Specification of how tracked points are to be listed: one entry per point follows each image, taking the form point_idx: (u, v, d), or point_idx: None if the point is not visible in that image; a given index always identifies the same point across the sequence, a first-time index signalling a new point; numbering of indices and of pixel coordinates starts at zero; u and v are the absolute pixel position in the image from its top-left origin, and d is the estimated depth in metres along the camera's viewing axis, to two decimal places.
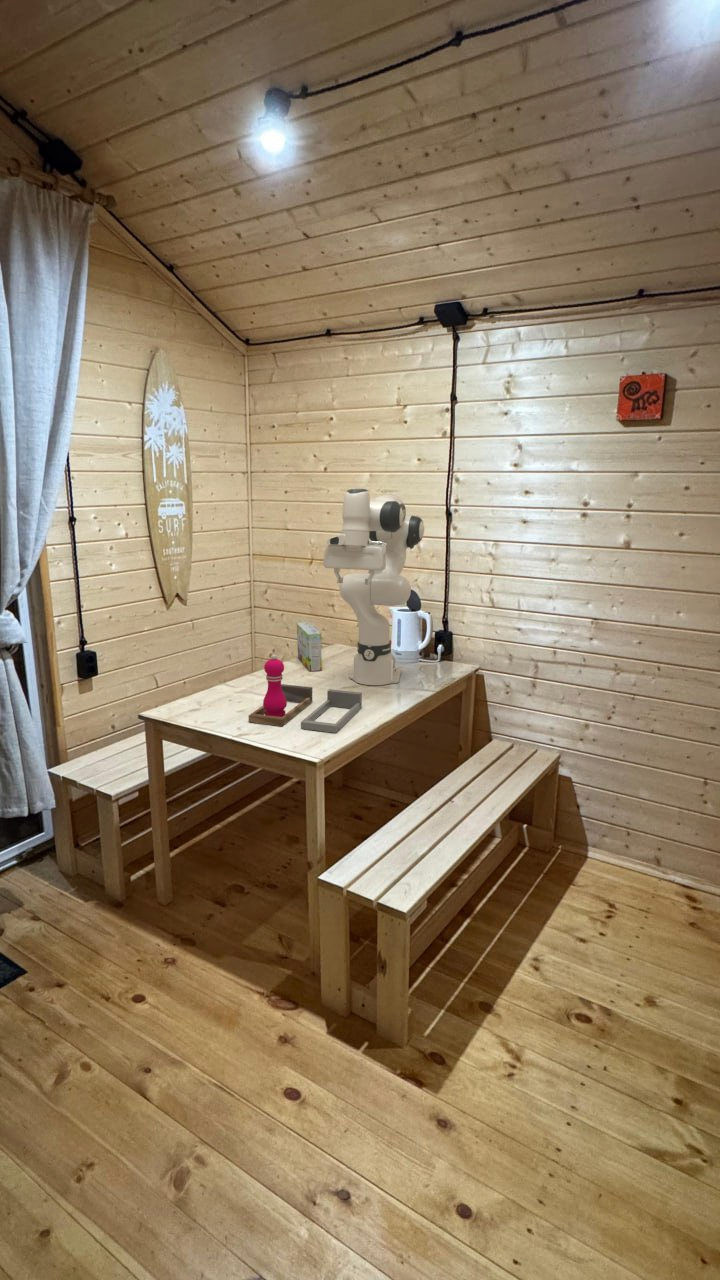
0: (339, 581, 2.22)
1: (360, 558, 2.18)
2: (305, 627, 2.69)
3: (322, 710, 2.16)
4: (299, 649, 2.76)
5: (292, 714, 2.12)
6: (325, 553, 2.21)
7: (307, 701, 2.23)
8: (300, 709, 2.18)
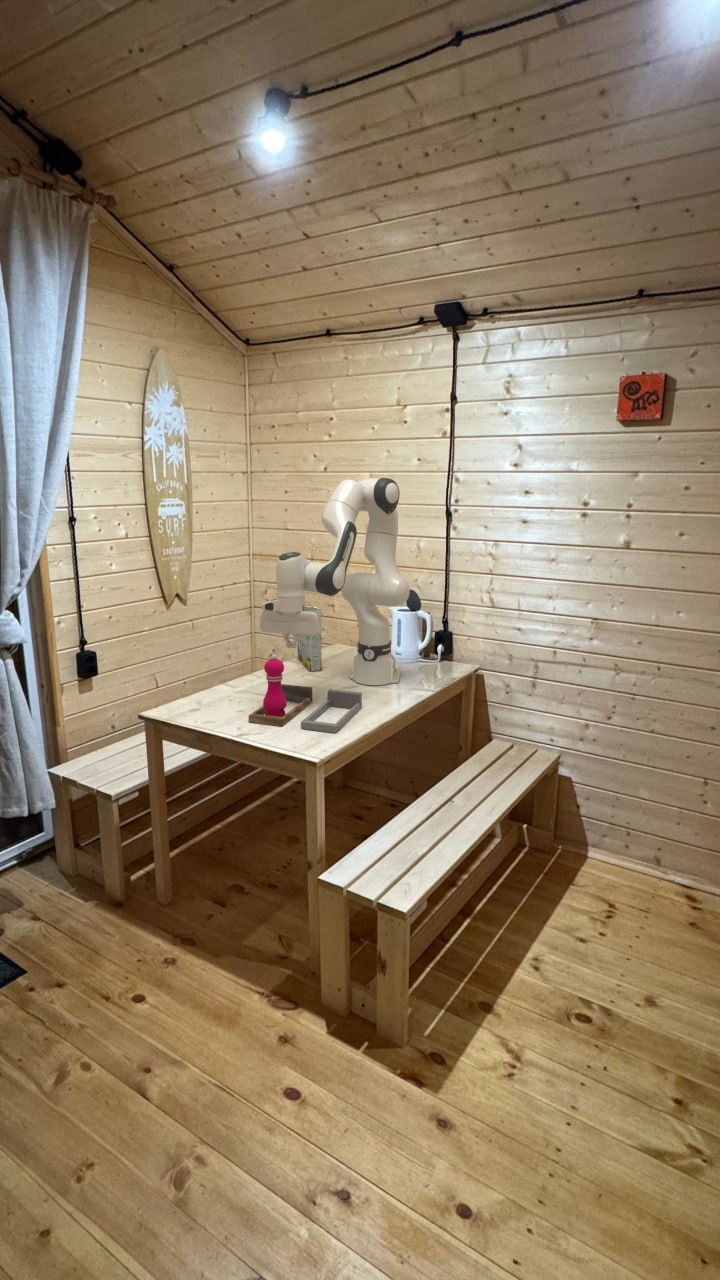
0: (288, 646, 2.20)
1: (296, 623, 2.16)
2: None
3: (322, 710, 2.16)
4: (299, 649, 2.76)
5: (292, 714, 2.12)
6: (261, 617, 2.19)
7: (307, 701, 2.23)
8: (300, 709, 2.18)
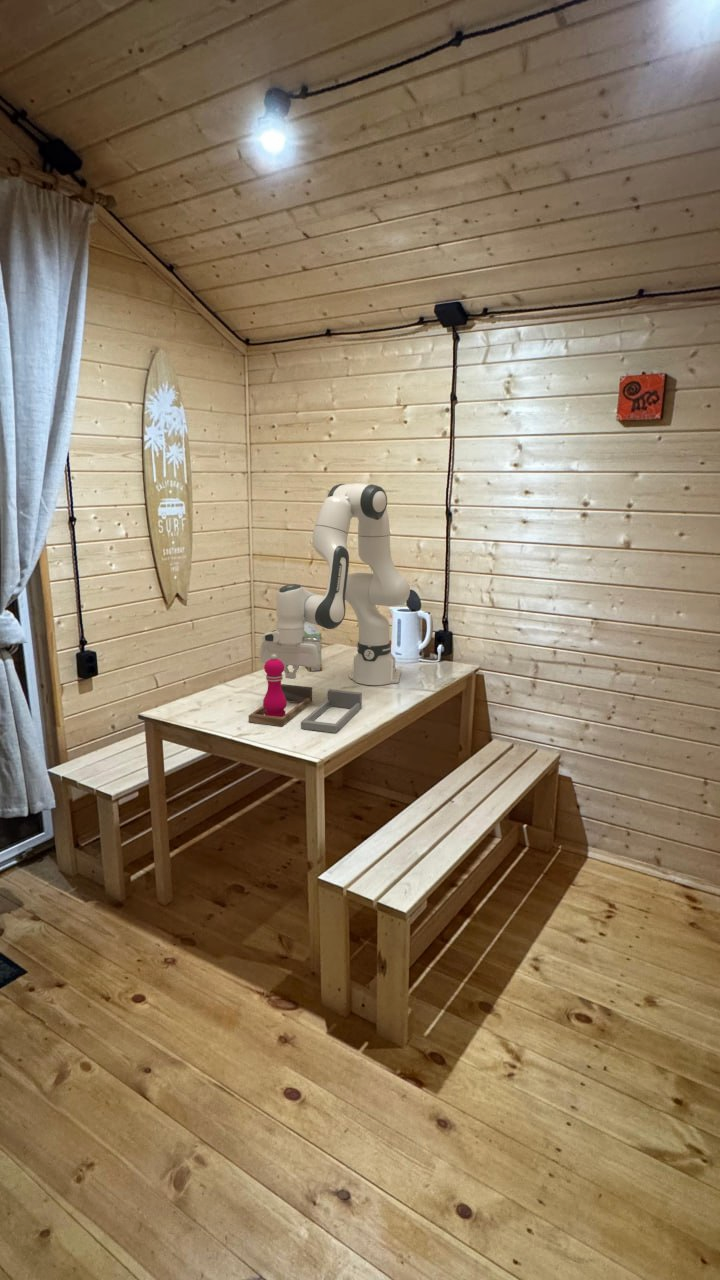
0: (287, 676, 2.22)
1: (296, 655, 2.18)
2: (305, 627, 2.69)
3: (322, 710, 2.16)
4: None
5: (292, 714, 2.12)
6: (261, 648, 2.21)
7: (307, 701, 2.23)
8: (300, 709, 2.18)
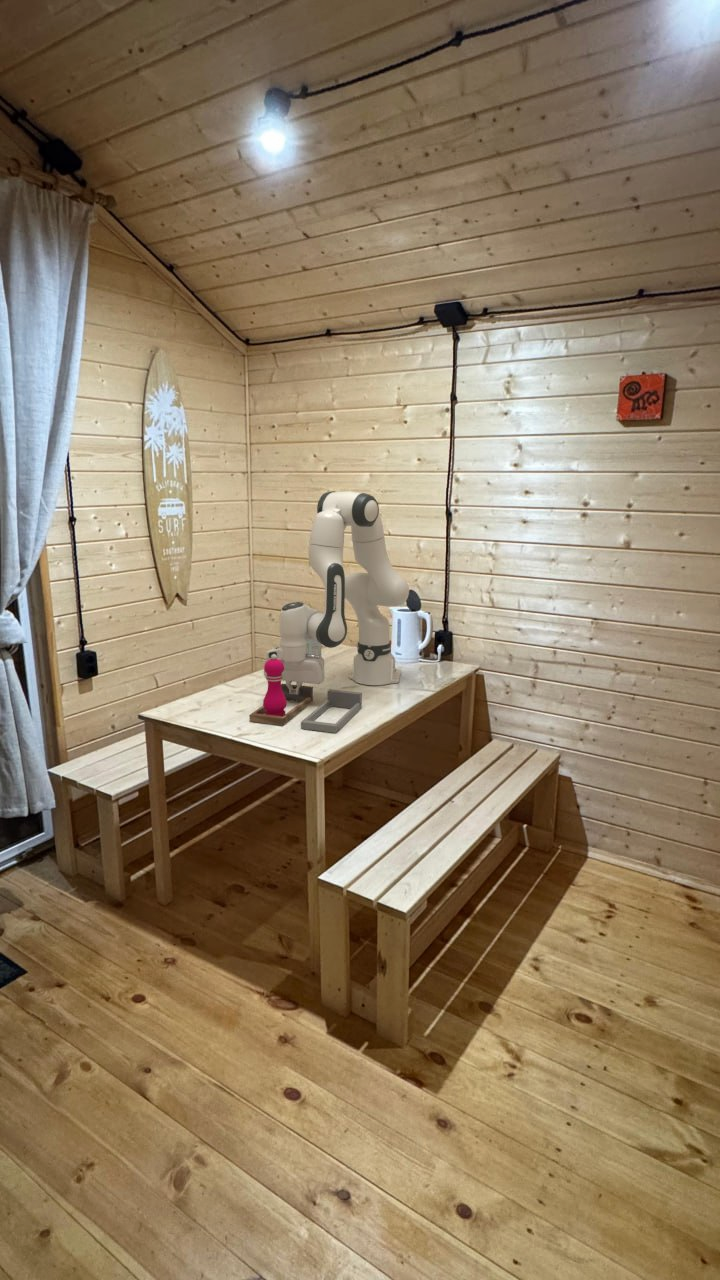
0: (291, 692, 2.25)
1: (299, 671, 2.21)
2: None
3: (322, 710, 2.16)
4: None
5: (293, 713, 2.12)
6: None
7: (308, 700, 2.23)
8: (301, 708, 2.18)
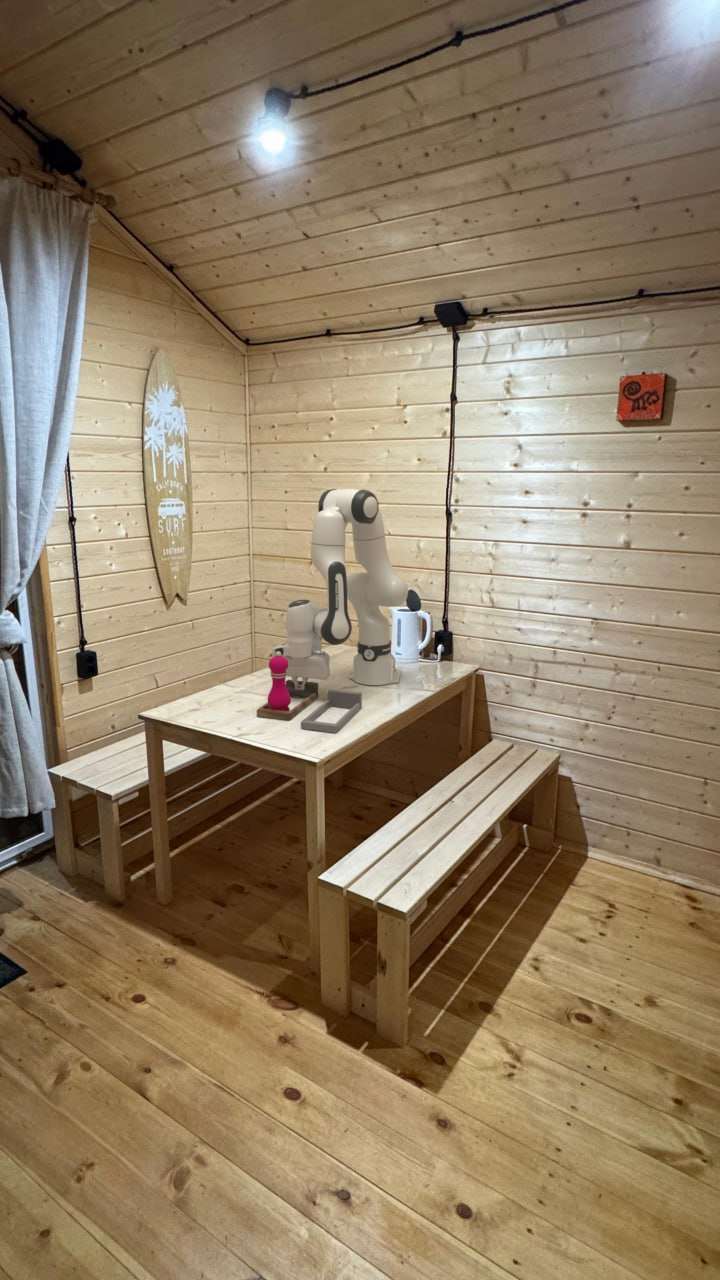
0: (297, 688, 2.30)
1: (305, 667, 2.26)
2: None
3: (322, 710, 2.16)
4: None
5: (299, 708, 2.17)
6: None
7: (313, 696, 2.28)
8: (307, 704, 2.23)
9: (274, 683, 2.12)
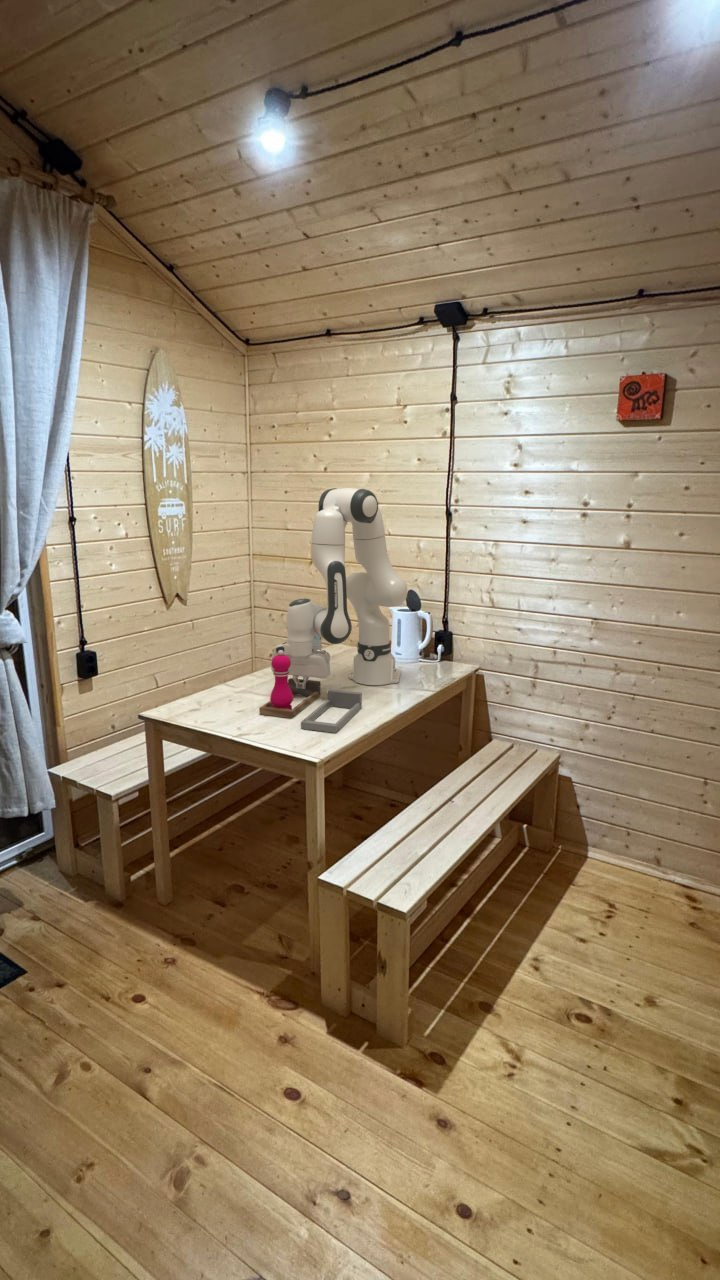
0: (298, 687, 2.31)
1: (306, 666, 2.27)
2: None
3: (322, 710, 2.16)
4: None
5: (301, 706, 2.19)
6: None
7: (315, 694, 2.29)
8: (309, 702, 2.24)
9: (277, 681, 2.14)
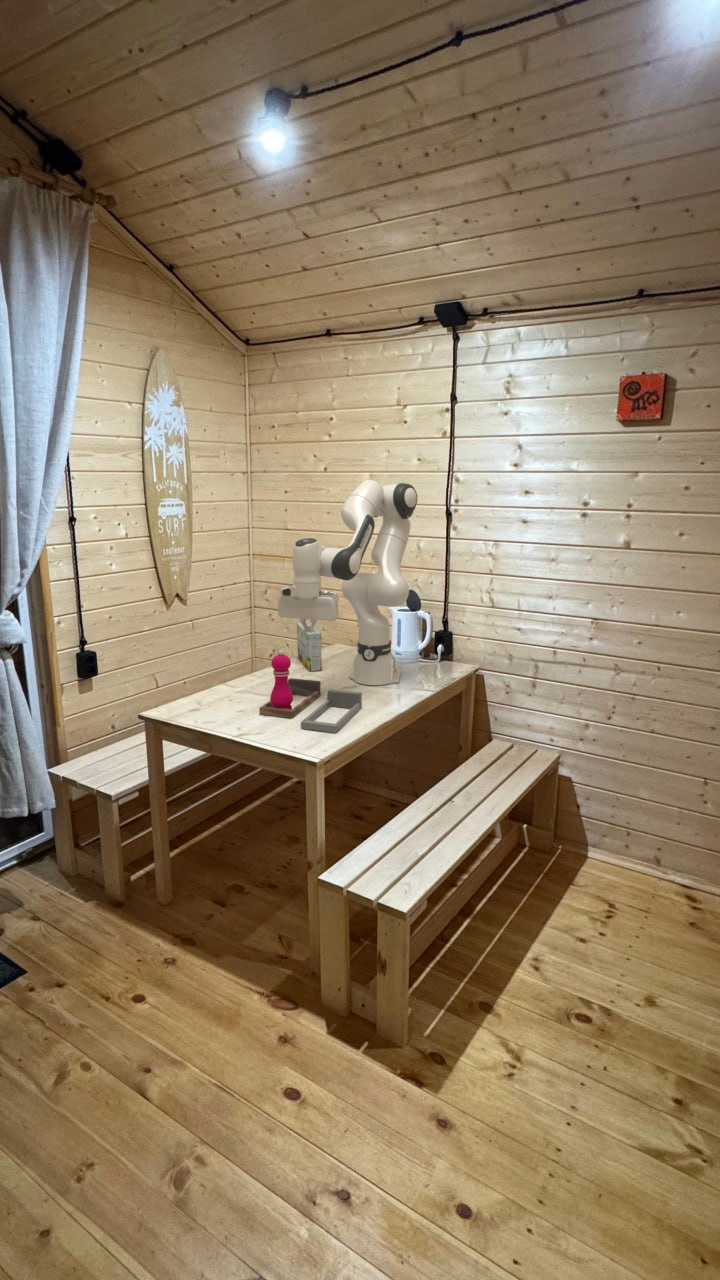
0: (306, 630, 2.24)
1: (313, 608, 2.20)
2: None
3: (322, 710, 2.16)
4: (299, 649, 2.76)
5: (301, 706, 2.19)
6: (279, 603, 2.23)
7: (315, 694, 2.29)
8: (309, 702, 2.24)
9: (277, 681, 2.14)
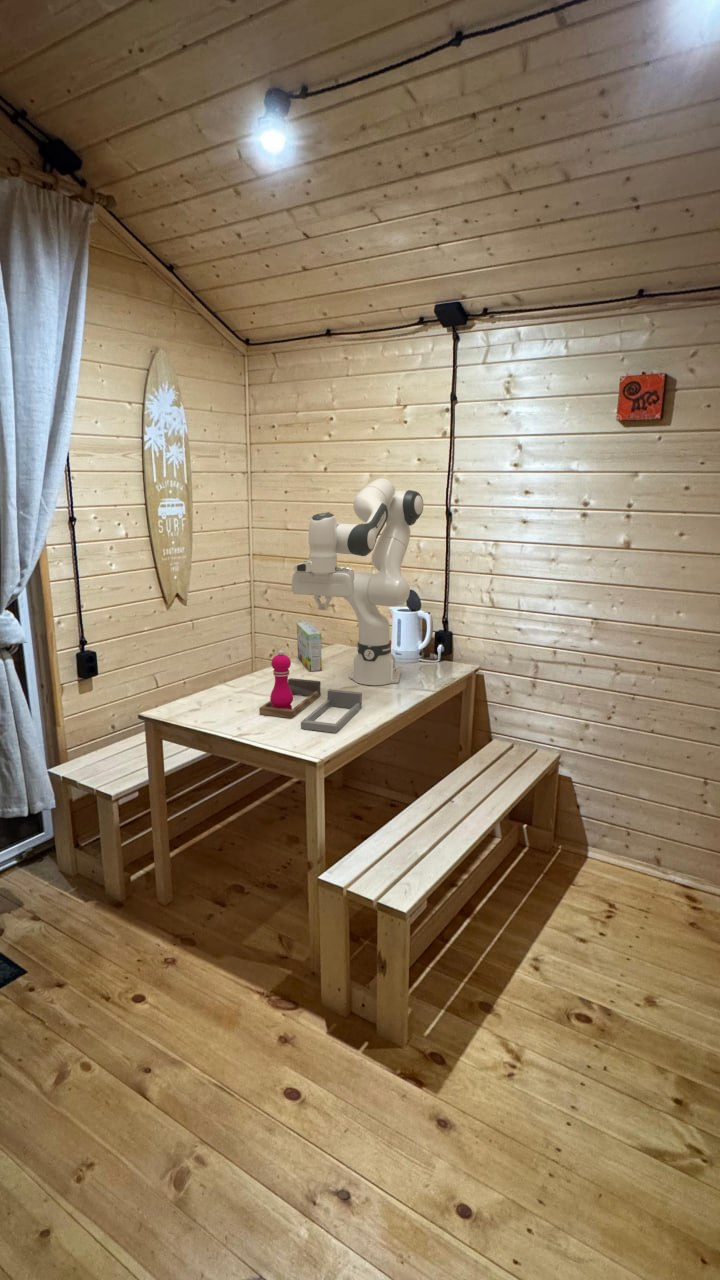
0: (320, 608, 2.19)
1: (328, 585, 2.15)
2: (305, 627, 2.69)
3: (322, 710, 2.16)
4: (299, 649, 2.76)
5: (301, 706, 2.19)
6: (293, 579, 2.18)
7: (315, 694, 2.29)
8: (309, 702, 2.24)
9: (277, 681, 2.14)
